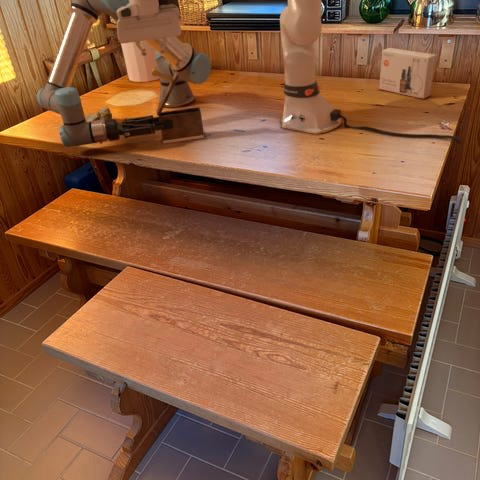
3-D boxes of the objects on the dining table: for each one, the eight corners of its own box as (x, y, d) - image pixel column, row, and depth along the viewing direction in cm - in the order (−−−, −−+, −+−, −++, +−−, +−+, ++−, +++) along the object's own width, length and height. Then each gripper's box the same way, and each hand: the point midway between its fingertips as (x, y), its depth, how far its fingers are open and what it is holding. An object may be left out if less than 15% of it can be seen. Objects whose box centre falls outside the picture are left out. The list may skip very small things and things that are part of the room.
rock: (87, 123, 194) (86, 127, 185) (83, 107, 191) (82, 111, 182) (113, 119, 196) (113, 123, 187) (110, 103, 193) (110, 107, 184)
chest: (202, 132, 171) (199, 106, 166) (204, 137, 167) (200, 111, 162) (162, 138, 170) (158, 112, 164) (163, 143, 166) (158, 117, 160)
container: (160, 81, 233) (149, 21, 217) (121, 82, 238) (108, 23, 222) (174, 69, 249) (165, 13, 233) (138, 70, 254) (126, 15, 238)
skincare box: (377, 89, 194) (381, 50, 185) (385, 86, 197) (389, 47, 188) (423, 99, 180) (429, 56, 171) (430, 95, 183) (437, 53, 174)
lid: (178, 72, 158) (156, 59, 155) (179, 75, 154) (156, 63, 151) (159, 111, 164) (137, 100, 161) (159, 116, 160) (136, 105, 157)
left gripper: (110, 131, 172) (172, 123, 174) (107, 150, 157) (175, 140, 159) (105, 112, 168) (169, 103, 170) (101, 129, 153) (171, 119, 155)
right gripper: (177, 1, 147) (184, 47, 155) (112, 10, 145) (123, 56, 153) (178, 4, 142) (185, 51, 149) (111, 13, 140) (122, 60, 148)
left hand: (172, 121), depth 165 cm, fingers closed on chest, 5 cm apart
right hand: (153, 53), depth 151 cm, fingers open, 5 cm apart
